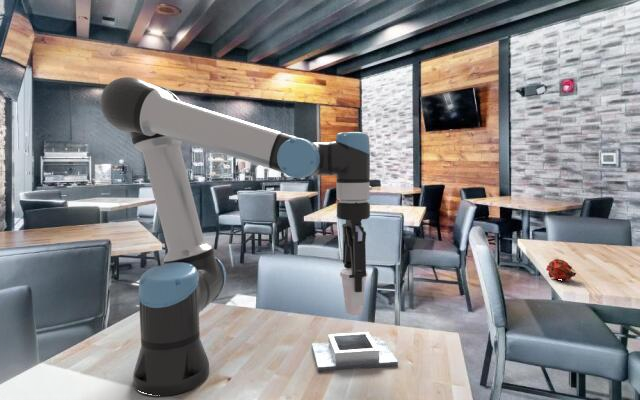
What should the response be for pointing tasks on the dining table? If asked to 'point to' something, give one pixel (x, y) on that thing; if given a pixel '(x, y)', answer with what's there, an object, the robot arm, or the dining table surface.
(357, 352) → the collar
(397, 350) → the dining table surface
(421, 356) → the dining table surface
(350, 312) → the smoothie
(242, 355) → the dining table surface
